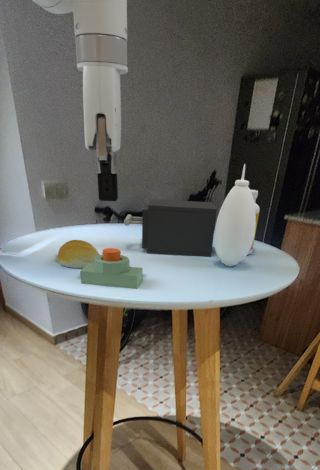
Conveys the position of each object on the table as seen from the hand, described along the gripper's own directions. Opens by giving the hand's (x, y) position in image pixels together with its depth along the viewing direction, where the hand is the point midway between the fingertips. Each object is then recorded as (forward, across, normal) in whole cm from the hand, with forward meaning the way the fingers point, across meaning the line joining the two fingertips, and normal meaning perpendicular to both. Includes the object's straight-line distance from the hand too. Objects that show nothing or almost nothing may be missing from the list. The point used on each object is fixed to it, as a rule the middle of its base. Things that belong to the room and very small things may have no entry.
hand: (108, 200), depth 65 cm
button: (+8, +8, +1) cm, 12 cm away
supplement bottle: (+12, -18, +28) cm, 36 cm away
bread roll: (+12, -3, -7) cm, 14 cm away
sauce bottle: (+12, -7, +24) cm, 28 cm away
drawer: (+11, -18, +10) cm, 24 cm away
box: (+12, +8, +1) cm, 14 cm away
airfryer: (+12, -18, +14) cm, 26 cm away
